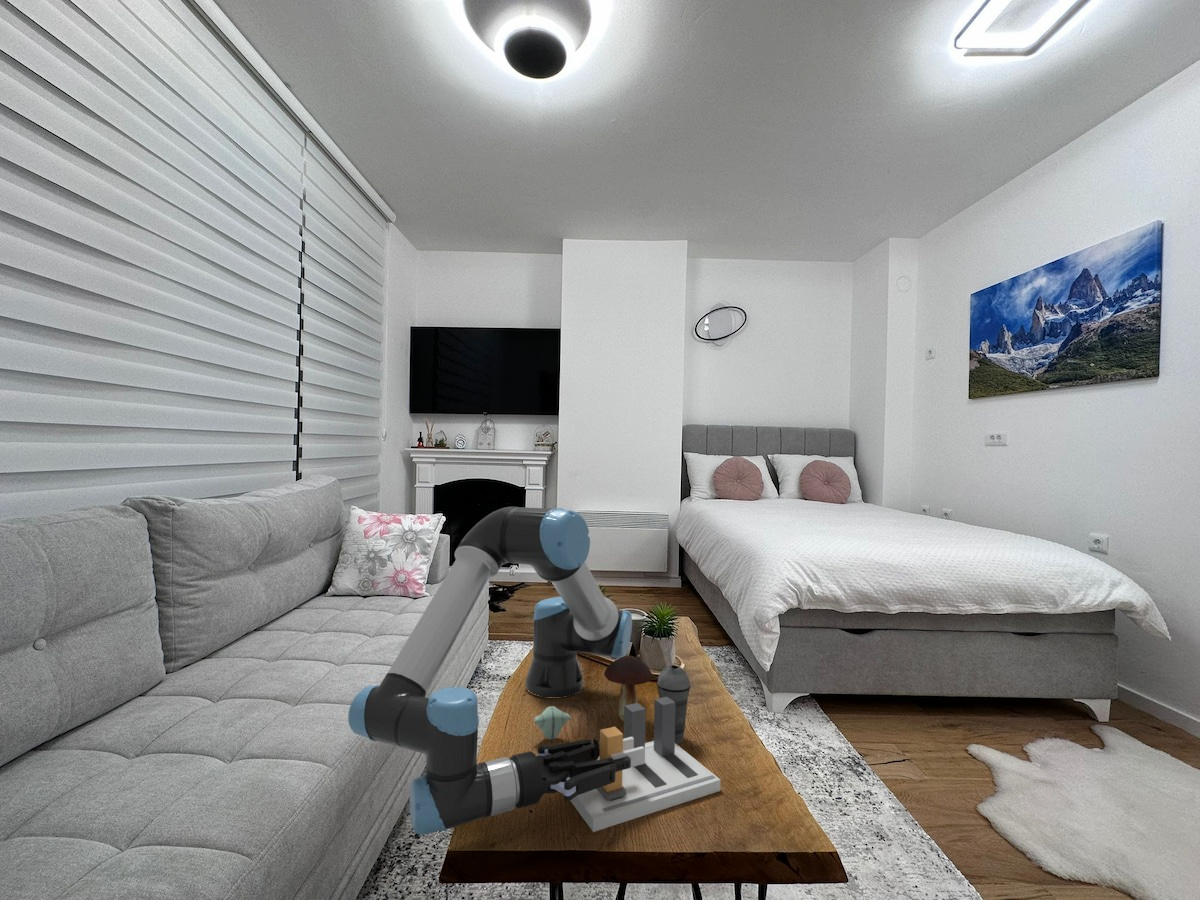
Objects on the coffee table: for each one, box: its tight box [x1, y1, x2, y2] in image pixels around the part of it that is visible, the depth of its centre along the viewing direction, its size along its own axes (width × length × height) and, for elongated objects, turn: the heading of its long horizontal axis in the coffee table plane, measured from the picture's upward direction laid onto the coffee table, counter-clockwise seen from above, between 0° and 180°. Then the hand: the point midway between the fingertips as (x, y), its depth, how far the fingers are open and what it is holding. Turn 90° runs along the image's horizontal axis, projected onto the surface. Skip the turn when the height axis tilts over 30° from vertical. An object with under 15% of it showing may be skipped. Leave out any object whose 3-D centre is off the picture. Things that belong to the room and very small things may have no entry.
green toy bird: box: [534, 705, 572, 740], centre depth 117 cm, size 8×4×7 cm, turn 106°
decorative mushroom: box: [604, 655, 653, 722], centre depth 126 cm, size 11×11×15 cm
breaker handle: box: [598, 726, 626, 800], centre depth 95 cm, size 5×4×10 cm
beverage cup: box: [656, 644, 691, 745], centre depth 118 cm, size 7×7×20 cm
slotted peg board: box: [569, 697, 722, 833], centre depth 101 cm, size 17×26×12 cm, turn 117°
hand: (637, 749), depth 98 cm, fingers closed on breaker handle, 3 cm apart
